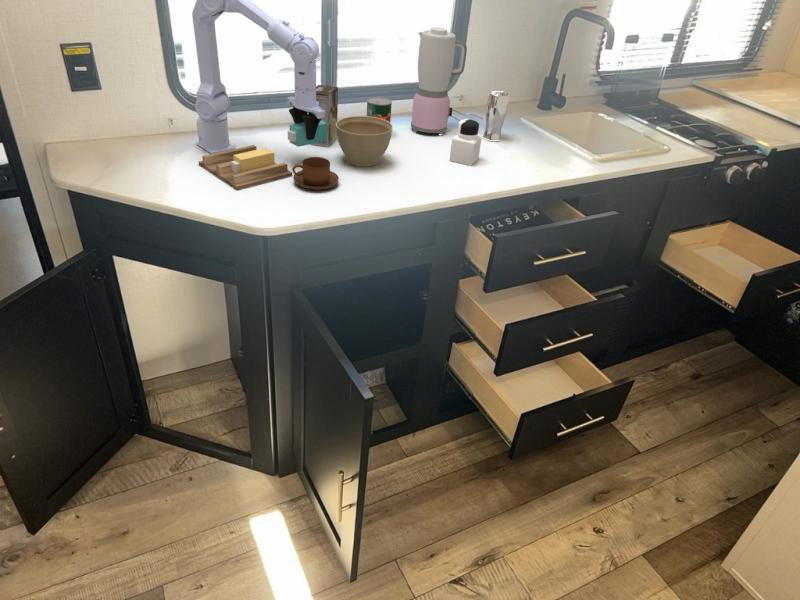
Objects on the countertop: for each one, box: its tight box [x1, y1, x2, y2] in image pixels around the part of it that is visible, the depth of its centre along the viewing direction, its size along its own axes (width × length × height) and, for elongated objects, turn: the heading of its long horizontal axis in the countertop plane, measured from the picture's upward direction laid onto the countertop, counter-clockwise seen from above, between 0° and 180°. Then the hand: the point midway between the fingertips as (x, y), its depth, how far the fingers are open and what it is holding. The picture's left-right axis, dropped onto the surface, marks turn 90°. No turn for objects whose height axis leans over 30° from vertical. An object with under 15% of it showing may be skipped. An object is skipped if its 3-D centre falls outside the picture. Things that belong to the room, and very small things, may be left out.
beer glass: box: [482, 89, 510, 141], centre depth 198 cm, size 7×7×15 cm
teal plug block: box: [287, 121, 327, 148], centre depth 169 cm, size 4×11×5 cm, turn 133°
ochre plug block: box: [231, 147, 276, 174], centre depth 161 cm, size 4×11×5 cm, turn 133°
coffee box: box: [309, 84, 339, 148], centre depth 184 cm, size 9×6×16 cm
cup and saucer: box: [291, 156, 340, 191], centre depth 160 cm, size 12×12×6 cm
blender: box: [410, 27, 468, 135], centre depth 195 cm, size 16×12×32 cm
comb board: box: [198, 144, 293, 191], centre depth 164 cm, size 20×17×3 cm
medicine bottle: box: [449, 118, 483, 166], centre depth 181 cm, size 7×7×12 cm
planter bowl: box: [336, 115, 393, 167], centre depth 174 cm, size 16×16×11 cm
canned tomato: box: [366, 96, 393, 123], centre depth 194 cm, size 8×8×11 cm
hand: (305, 136), depth 169 cm, fingers closed on teal plug block, 4 cm apart
